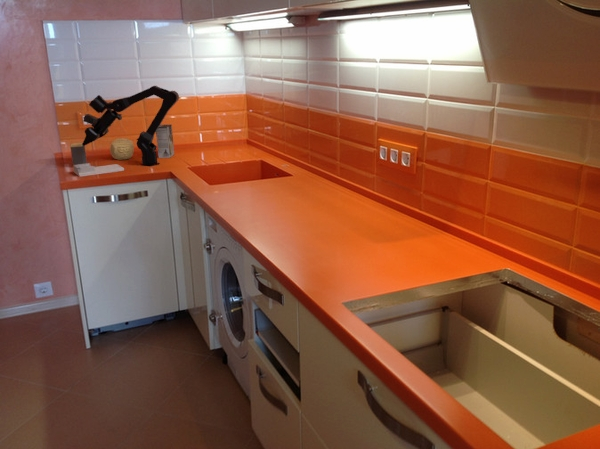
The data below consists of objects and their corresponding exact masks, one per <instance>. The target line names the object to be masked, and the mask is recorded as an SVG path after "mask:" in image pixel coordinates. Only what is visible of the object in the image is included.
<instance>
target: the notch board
mask: <svg viewBox="0 0 600 449" xmlns="http://www.w3.org/2000/svg"><path fill="white" fill-rule="evenodd" d="M72 166H74V167H73V173H75V174H76V176H78V177H80V178H81V177H86V176H87V177H88V176H94V175H100V174H109V173H110V174H111V173H117V172H123V171H125V168H124V167H122V166H121V165H119V164H117V163H116V164H108V165H100V166H95V165H91V162H87V163H86V164H78V165H73V164H72Z"/></svg>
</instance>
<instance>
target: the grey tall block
mask: <svg viewBox="0 0 600 449" xmlns="http://www.w3.org/2000/svg"><path fill="white" fill-rule="evenodd" d="M82 144H83V142H73V143H71V144H70V146H69V147H70V154H71V159H72V166H73V165H78V164H86V163H88V161H87V160H88V159H87V155H86V154H87V153H86V147H85V146H86V145H85V146H83V145H82ZM73 168H74V166H73Z"/></svg>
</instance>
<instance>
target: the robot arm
mask: <svg viewBox="0 0 600 449" xmlns="http://www.w3.org/2000/svg"><path fill="white" fill-rule="evenodd" d="M151 96H156V97H158V98H159V99H161V100H162V103H161V106H160V108H159V110H158V111H157V113H156V115H155V116H154V118H153V120H152V121H151V123H150V125H149V126H148V128H147V130H146V131H144V130H143V131H141V132H140V134H139V136H138V138H137V139H136V146H137V148H138V149H139V150H140V151H141V165H143V166H147V167H151V166H155V165H159V164H160V162H158V152H157V151H156V150H157V148H158V147H157V144H156V145H155V143H154V142H153V141H154V136H155V135H156V131H157V129H158V127H159V126H160V125H162V122H163V121H164V119H165V117H166V116H167V114H168V113H169V111H170V110H171V109H172V108H173V107H174V105H175V104H176V103H177V102H178V101H179V99H180V95H179V93H178V91H176V90H168V89H165V88H163V87H159V86H157V85H153V86H151V87H149V88H147V89H145V90H142V91H140V92H137V93H135V94H133V95H130V96H127V97H123V98H118V99H115V100H113V101H110V102H108V101H107V100H105V99H104V98H103V97H102V96H101V95H100V94H99V95H97V96H96V97H95V98H93V99H92V100H91V101H90V102H89V103H88V105H89V107H90V108H92V109H93V110H94V111H95V112H96V113H97V114H101V116H100V117H97V116H95V115H92V114H89V113H87V114H86V113H85V115H84V116H83V120H82V121H83V122H84V123H88V124H90V125H91V126H89V127H86V129H85V130H84V134H85V137H84V139H83V141H82V143H83V144H82V145H83V146H87V145H89V144H91V143H93V142H95V141H97V140H98V139H100V138H102V137H104V136H105V135H108V133H109V132H110V130H109V128H111V126H112V125H113V123H114V122H115V121H116V120H118V121H121V120H123V117H122V112H124V111H125V110H127V109H128V108H130V107H131V106H132V105H134V104H136V103H138V102H140V101H143V100H145V99H147V98H150V97H151Z"/></svg>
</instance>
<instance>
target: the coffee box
mask: <svg viewBox="0 0 600 449" xmlns="http://www.w3.org/2000/svg"><path fill="white" fill-rule="evenodd" d="M155 135H156V146H157V147H156V148H157V157H158V159H168V158H171V157H173V156H174V155H175V148H174V138H173V137H174V136H173V126H172V124H160V126H159V127H158V129H157V131H156V132H155Z"/></svg>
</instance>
